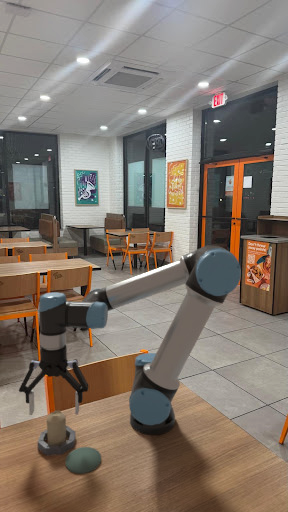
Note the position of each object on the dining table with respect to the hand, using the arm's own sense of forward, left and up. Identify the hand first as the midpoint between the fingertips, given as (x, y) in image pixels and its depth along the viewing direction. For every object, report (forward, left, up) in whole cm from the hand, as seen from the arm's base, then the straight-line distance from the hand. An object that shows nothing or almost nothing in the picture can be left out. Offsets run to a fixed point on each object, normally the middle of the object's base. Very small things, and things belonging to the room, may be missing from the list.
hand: (54, 412), depth 108 cm
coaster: (-9, +8, -10) cm, 16 cm away
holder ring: (0, 0, -10) cm, 10 cm away
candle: (0, 0, -10) cm, 10 cm away
